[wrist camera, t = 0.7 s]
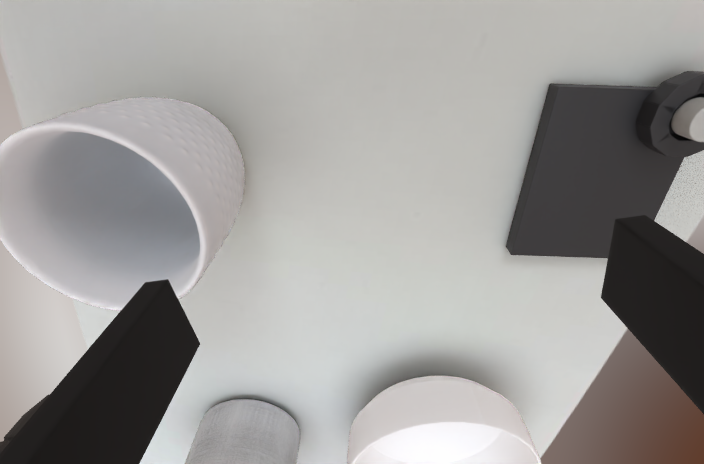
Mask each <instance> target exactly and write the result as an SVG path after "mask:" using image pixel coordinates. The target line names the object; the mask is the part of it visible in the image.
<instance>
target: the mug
mask: <svg viewBox="0 0 704 464" xmlns="http://www.w3.org/2000/svg"><path fill="white" fill-rule="evenodd" d="M244 176H245V171H244V163H243V160H242V154H241V152H240V150H239V146H238V144H237V142H236V141H235V139H234V136H233V135H232V134H231V133H230V132H229V130H228V129H227V127H226V126H225V125H224V124H222V123H221V122H220V121H219V119H218V118H217V117H215V116H213V115H212V114H210V113H209V112H208V111H207V110H204V109H202V108H200V107H199V106H196V105H192V104H191V103H188V102H182V101H180V100H171V99H169V98H157V97H150V98H145V97H138V98H125V99H123V100H113V101H111V102H108V103H99V104H96V105H95V106H92V107H86V108H81V109H79V110H77V111H74V112H71V113H64V114H62V115H60V116H58V117H55V118H52V119H49V120H46V121H43V122H40V123H37V124H34V125H32V126H29V127H26V128H24V129H22V130H20V131H18V132H16V133H14V134H12V135H11V136H9V137H8V138H6V139H5V140H4V141H3V142H2V143H1V144H0V240H1V242H2V243H3V245H4V246H5V248H6V249H7V250H8V251H9V252H10V254H11V255H12V256H13V257H14V258H15V259H16V260H17V261H18V262H19V263H20V264H21V265H22V266H23V267H24V268H25V269H26V270H28V271H29V272H30V273H31V274H32V275H34V276H35V277H36V278H38V279H39V280H40V281H42V282H44V283H45V284H46V285H48V286H49V287H51V288H53V289H55V290H56V291H59V292H60V293H62V294H64V295H66V296H68V297H71V298H73V299H75V300H78V301H80V302H83V303H86V304H89V305H91V306H95V307H99V308H104V309H109V310H117V311H121V310H122V309H123V308H124V307H125V305H126V304H127V303H128V302H129V301H130V300H131V298H132V297H133V296H134V295H135V294H136V293H137V291H138V290H139V289H140V288H141V287H142V285H143V284H144V283H145V282H151V281H159V280H166V279H168V280H169V282H170V284H171V286H172V288H173V290H174V292H175V294H176V296H177V298H178V299H180V298H182V297H183V296H184V295H186V294H187V293H188V292H189V291H190V290H191V289H192V288H193V287H194V286H195V285H196V283H197V282H198V281H199V279H200V278H201V277H202V275H203V273H204V272H205V270H206V269H207V267H208V265H209V264H210V263H211V261H212V260H213V259H214V258H215V255H216V253H217V252H218V250H219V249H220V248H221V246H222V244H223V241H224V240H225V239H226V237H227V236H228V233H229V231H230V229H231V228H232V226H233V225H234V222H235V219H236V217H237V215H238V214H239V208H240V206H241V204H242V197H243V195H244V185H245V180H244Z"/></svg>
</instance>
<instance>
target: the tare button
mask: <svg viewBox="0 0 704 464" xmlns="http://www.w3.org/2000/svg"><path fill="white" fill-rule="evenodd" d="M671 127H672V130H673V131H674V132H675V133H676V134H677V135H680V136H683V137H685V138H688V139H691V140H694V141H697V142H704V97H697V98H693V99H690V100H688V101H686V102H685V103H683V104H682V105H681V106H680V107H679V108H678V109H677V110H676V112H675V113H674V115H673V117H672V120H671Z"/></svg>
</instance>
